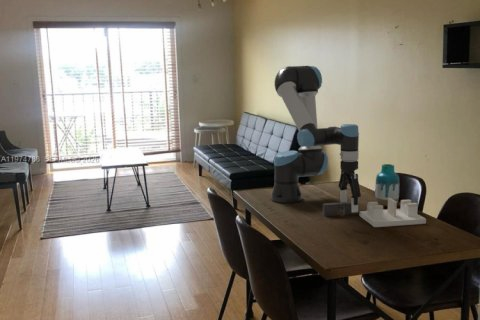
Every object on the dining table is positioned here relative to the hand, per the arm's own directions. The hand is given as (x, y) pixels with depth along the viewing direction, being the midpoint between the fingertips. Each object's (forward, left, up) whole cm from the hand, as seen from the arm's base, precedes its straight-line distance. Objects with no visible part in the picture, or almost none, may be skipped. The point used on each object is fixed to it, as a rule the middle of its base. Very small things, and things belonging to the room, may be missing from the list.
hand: (349, 208), depth 218 cm
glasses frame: (0, -4, -3) cm, 4 cm away
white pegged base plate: (+12, +14, -3) cm, 19 cm away
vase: (-8, +21, -3) cm, 23 cm away
